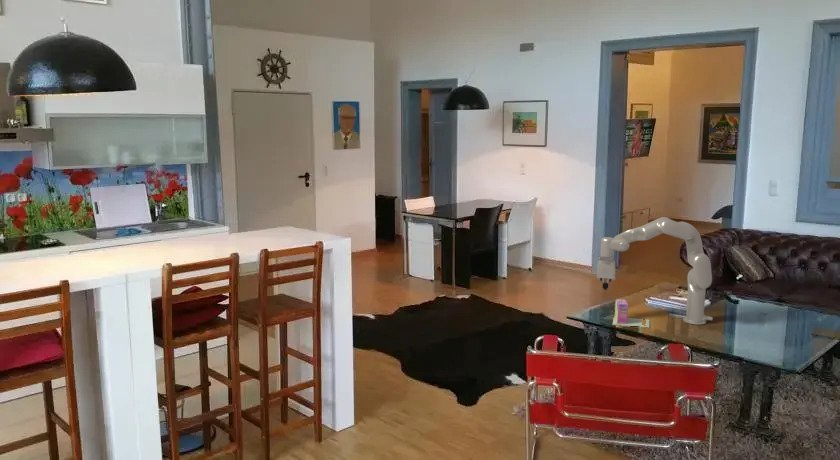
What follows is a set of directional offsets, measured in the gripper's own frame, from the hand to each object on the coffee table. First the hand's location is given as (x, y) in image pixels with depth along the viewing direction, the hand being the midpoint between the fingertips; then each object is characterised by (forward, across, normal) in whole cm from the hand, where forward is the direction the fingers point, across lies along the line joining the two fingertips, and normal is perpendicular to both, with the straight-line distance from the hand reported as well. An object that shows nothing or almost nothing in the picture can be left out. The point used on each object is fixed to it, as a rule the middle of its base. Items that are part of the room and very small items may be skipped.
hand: (605, 289), depth 391 cm
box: (+18, +10, 0) cm, 21 cm away
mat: (+19, +15, 0) cm, 24 cm away
